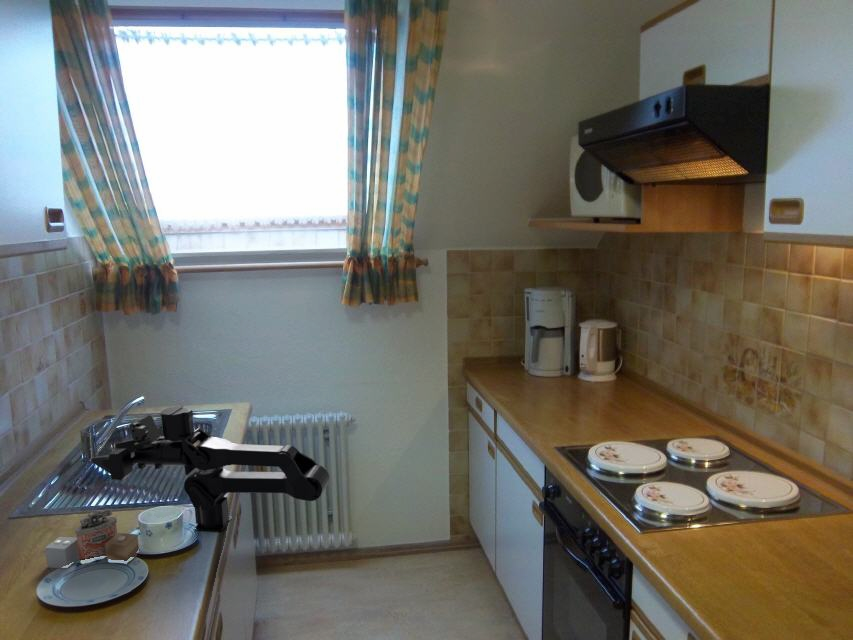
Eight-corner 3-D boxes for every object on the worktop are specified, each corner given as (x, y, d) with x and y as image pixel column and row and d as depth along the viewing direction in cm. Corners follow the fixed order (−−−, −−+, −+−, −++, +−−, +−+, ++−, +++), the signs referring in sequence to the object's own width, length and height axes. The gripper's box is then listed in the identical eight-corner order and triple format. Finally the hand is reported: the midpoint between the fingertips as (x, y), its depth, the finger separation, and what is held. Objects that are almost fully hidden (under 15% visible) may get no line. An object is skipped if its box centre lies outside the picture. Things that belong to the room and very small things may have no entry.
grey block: (81, 557, 144) (78, 537, 143) (67, 569, 140) (64, 548, 139) (62, 556, 145) (59, 535, 144) (47, 567, 140) (44, 546, 140)
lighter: (81, 566, 140) (75, 521, 139) (77, 559, 143) (71, 515, 141) (122, 552, 146) (117, 509, 144) (117, 546, 148) (112, 504, 146)
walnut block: (139, 553, 145) (137, 533, 144) (127, 565, 141) (125, 544, 140) (120, 552, 146) (117, 532, 145) (107, 563, 142) (105, 542, 141)
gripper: (183, 406, 163) (123, 407, 165) (141, 432, 145) (73, 432, 147) (188, 451, 165) (128, 450, 167) (147, 482, 147) (80, 481, 149)
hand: (104, 452), depth 157 cm, fingers open, 9 cm apart
